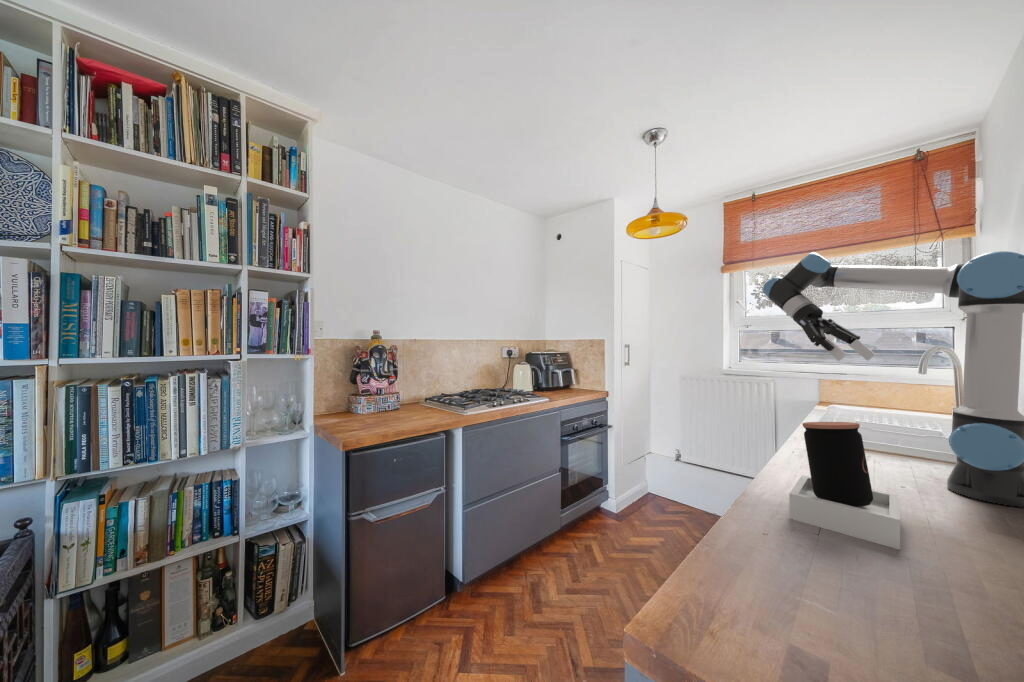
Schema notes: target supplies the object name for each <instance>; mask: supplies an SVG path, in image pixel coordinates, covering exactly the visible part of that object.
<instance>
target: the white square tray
mask: <svg viewBox="0 0 1024 682" xmlns="http://www.w3.org/2000/svg"><path fill="white" fill-rule="evenodd" d="M872 493H873V501H872V502H871V504H870V505H868V506H849V505H845V504H841V503H836V502H832V501H828V500H824V499H820V498H818V497H816V495H815V494H814V492H813V486H812V480H811V476H809V475H808V476H807V475H805V474H804V475H803V474H801V476H800V477H799V479H798V480H797V482H796V483H795V485H794V486H793V487H792V489H791V490H790V492H789V494H788V495H789V496H788V497H789V498H788V500H789V502H788V505H789V506H788V507H789V509H788V510H789V511H788V513H789V514H788V516H789V517H788V518H790V519H789V520H792V519H793V521H796V522H800V523H803V524H807V525H811V526H814V527H818V528H822V529H824V530H825V529H826V530H827V531H828V530H829V531H832V532H835V533H839V534H843V535H846V536H848V537H849V536H850V537H854V538H856V539H860V540H863V541H868V542H871V543H875V544H879V545H883V546H885V547H889V548H893V549H896V550H901V514H900V512H901V511H900V498H899V494H896V493H889V492H885V491H881V490H875V489H872Z"/></svg>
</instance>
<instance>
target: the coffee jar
mask: <svg viewBox="0 0 1024 682" xmlns="http://www.w3.org/2000/svg"><path fill="white" fill-rule="evenodd" d="M801 425H802V427H803V428H804V429H805V431H804V432H803V436H804V443H805V448H806V455H807V462H808V467H809V475H810V477H811V480H812V486H813V492H814V494H815V495H816V497H818V498H820V499H824V500H828V501H832V502H836V503H841V504H845V505H849V506H868V505H870V504H871V502H872V501H873V493H872V490H873V488H872V484H871V479H870V473H869V468H868V463H867V457H866V452H865V446H864V441H863V436H862V433H861V432H859V431H858V430H859V428H860V423H858V422H849V421H809V422H808V421H807V422H802V424H801Z"/></svg>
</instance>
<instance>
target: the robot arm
mask: <svg viewBox="0 0 1024 682" xmlns="http://www.w3.org/2000/svg"><path fill="white" fill-rule="evenodd" d="M809 286H813V287H815V288H828V287H829V288H847V289H863V290H864V289H866V290H877V291H878V290H880V291H895V292H896V291H899V292H915V293H929V294H930V293H932V294H933V293H934V294H944V295H945V296H946V297H947V298H954V299H955V298H958V303H957V305H958V306H957V308H958V310H961V311H962V312H963V313H965V314H966V324H965V325H966V327H965V344H964V362H963V363H964V364H963V382H962V384H963V385H962V403H961V405H960V406H958V407H956V408H954V409H953V410H952V424H951V427H952V428H951V433H950V435H949V437H948V444H949V447H950V449H951V451H952V452H953V453H954V454H955V455H956V462H955V464H954V467H953V469H952V471H951V472H950V474H949V476H948V477H947V481H946V482H947V483H946V487H947V489H948V490H949V489H950V490H949V491H951V492H953V491H954V492H953V493H955V492H956V493H955V494H958V493H959V494H958V495H960V494H962V495H961V496H963V495H965V496H964V497H966V496H967V497H966V498H970V497H971V498H970V499H973V498H974V500H977V499H979V500H978V501H981V500H983V501H982V502H985V501H988V502H987V503H990V502H994V503H993V504H995V503H999V504H998V505H1000V504H1006V505H1011V506H1010V507H1014V506H1018V507H1017V508H1024V415H1023V414H1022V413H1021V412H1019V393H1020V392H1019V391H1020V372H1021V353H1022V336H1023V320H1024V319H1023V316H1024V254H1021V253H1018V252H1015V251H1005V250H1004V251H1003V250H1000V251H999V250H998V251H991V252H987V253H983V254H981V255H980V254H979V255H978V256H975V257H973V258H972V259H970V260H969V261H966V263H956V264H954V265H952V266H949V267H947V266H901V265H900V266H899V265H898V266H891V265H890V266H888V265H847V264H846V265H843V264H841V265H836V264H832V263H831V261H829V260H828V259H826V258H825V257H824V256H822V255H820V254H819V253H817V252H814V251H813V252H810V253H808V254H806V256H805V257H803V258H802V259H801V260H800V261H799V262H798V263H797V264H796V265H794V267H792V269H791V270H790V271H788V272H787V273H786V274H785V275H784V276H783V277H781V276H773V277H772V278H770V279H768V280H767V281H766V282H765V283H764V285H763V286H762V292H763V294H764V295H765V296H767V298H768V299H769V300H770V301H771V302H773V304H774V305H776V306H777V307H778V308H780V310H782V311H783V312H784V313H785V314H786V315H785V316H787V317H790V318H791V319H792V320H793V321H794V322H795V323H796V324H798V325H799V327H801V328H802V330H803V331H804V334H805V335H806V336H807V337H808V339H809V341H810V342H811V343H813V344H814V346H816V347H818V346H821V347H822V348H823V349H824V350H825V351H826V352H828V353H829V354H830V355H831V356H832V357H833V358H834V359H836V360H837V361H838V362H840V361H841V360H843V359H844V358H845V357H846V356H848V353H846V352H845V351H844V350H843V349H842V348H840V347H839V345H837V344H836V343H835V342H834V341H833V340H831V339H830V338H827V336H826V335H831V336H832V337H835V338H836V339H838V340H841V341H843V342H845V343H846V344H848V346H849V347H850V348H851V349H853V350H854V351H855V353H857V354H859V355H860V356H861V357H862V358H863V359H864V360H866V361H870V360H871V359H873V358H874V357H875V356H877V353H875V352H874V351H873V350H872V349H870V348H869V347H868V346H867V345H865V344H864V343H862V342H861V340H860V339H861V336H860V335H857V334H855V333H854V332H851V330H849V329H846V328H845V327H843V325H840V324H838V323H837V322H836V321H834V320H833V319H831V318H828V319H826V318H823V313H824V312H823V311H824V310H823V309H821V307H819V306H818V305H816V303H814V302H813V301H812V300H811V299H809V298H808V297H807V296H805V295H804V294H803V293H802V292H803V291H805V290H806V289H807V288H808V287H809ZM1006 505H1005V506H1006Z"/></svg>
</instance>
